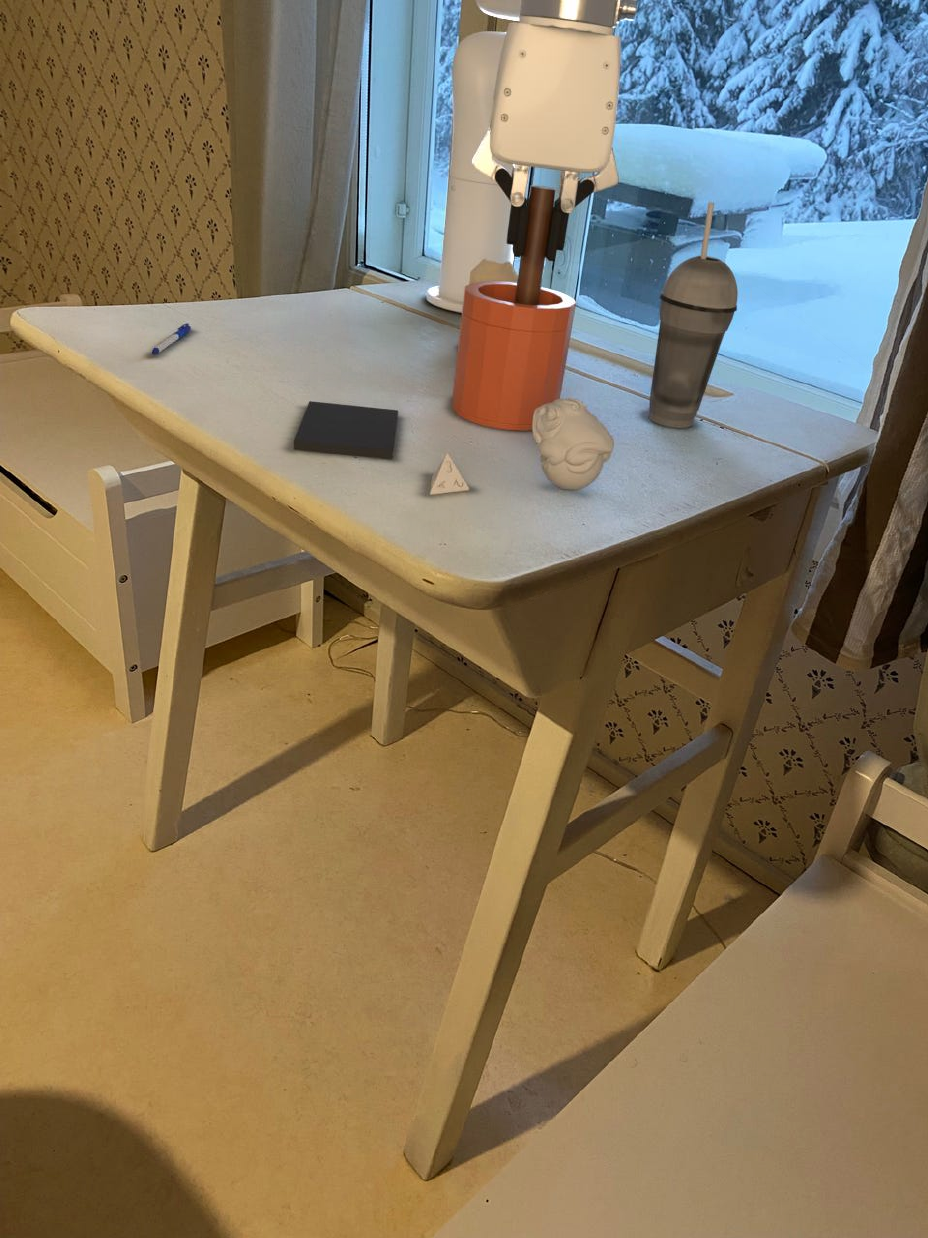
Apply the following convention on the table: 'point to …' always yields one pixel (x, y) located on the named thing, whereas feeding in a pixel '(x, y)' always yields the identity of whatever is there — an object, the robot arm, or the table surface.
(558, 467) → the frog figurine
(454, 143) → the robot arm
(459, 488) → the tetrahedral die
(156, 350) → the blue and white marker
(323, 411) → the mat
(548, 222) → the brush
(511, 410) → the jar
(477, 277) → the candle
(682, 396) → the beverage cup
